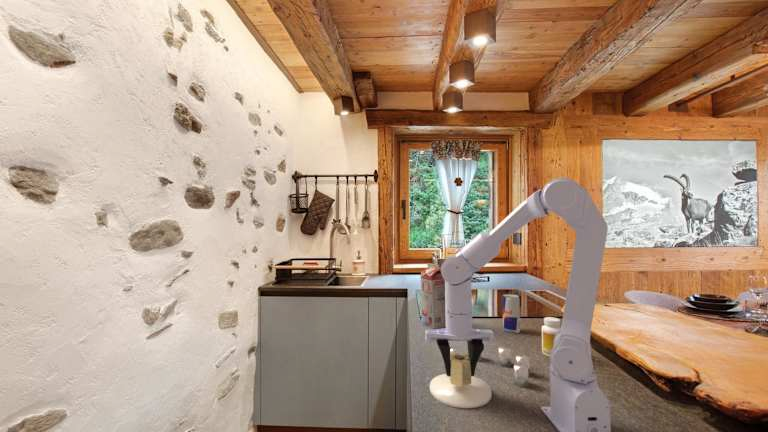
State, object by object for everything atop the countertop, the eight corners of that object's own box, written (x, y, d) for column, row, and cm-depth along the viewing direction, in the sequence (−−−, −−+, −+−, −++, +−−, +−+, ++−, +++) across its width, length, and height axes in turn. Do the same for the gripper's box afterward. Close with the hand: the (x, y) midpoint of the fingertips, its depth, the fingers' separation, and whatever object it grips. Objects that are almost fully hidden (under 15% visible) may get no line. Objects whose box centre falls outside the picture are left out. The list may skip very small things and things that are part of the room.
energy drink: (499, 330, 107) (498, 294, 107) (511, 327, 109) (510, 293, 109) (512, 335, 102) (511, 298, 102) (523, 332, 104) (522, 296, 104)
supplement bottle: (567, 359, 83) (566, 322, 83) (545, 357, 84) (544, 321, 85) (560, 351, 88) (559, 316, 89) (539, 350, 89) (538, 315, 90)
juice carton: (432, 329, 108) (431, 265, 109) (421, 324, 114) (420, 263, 115) (447, 326, 111) (446, 264, 112) (435, 321, 117) (434, 262, 118)
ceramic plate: (500, 408, 61) (500, 404, 61) (434, 408, 61) (434, 404, 61) (481, 376, 74) (481, 373, 74) (426, 376, 74) (426, 373, 74)
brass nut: (472, 386, 65) (472, 362, 65) (451, 386, 65) (451, 362, 66) (466, 375, 70) (466, 352, 71) (447, 375, 70) (447, 352, 71)
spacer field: (542, 387, 69) (541, 368, 69) (458, 387, 69) (458, 369, 69) (512, 356, 85) (512, 341, 86) (445, 356, 86) (444, 341, 86)
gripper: (486, 306, 72) (487, 365, 72) (423, 306, 72) (424, 365, 72) (496, 315, 65) (498, 381, 65) (427, 315, 65) (428, 381, 65)
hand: (459, 374), depth 68 cm, fingers closed on brass nut, 4 cm apart
